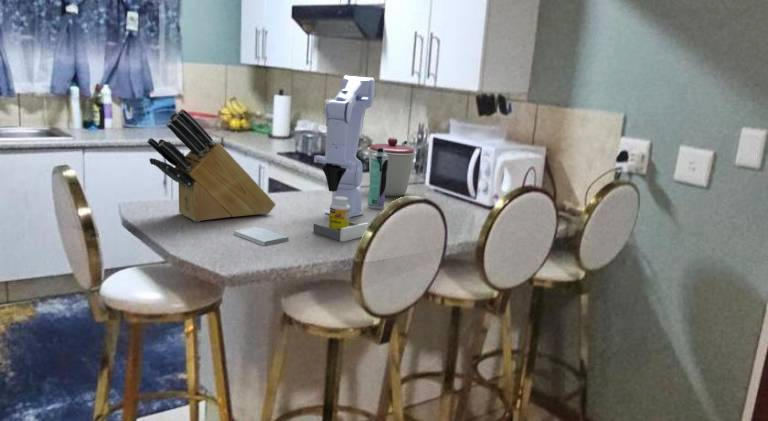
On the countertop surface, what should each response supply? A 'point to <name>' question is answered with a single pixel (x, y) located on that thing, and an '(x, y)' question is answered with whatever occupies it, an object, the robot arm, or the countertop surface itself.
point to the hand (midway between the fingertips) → (332, 191)
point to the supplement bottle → (339, 213)
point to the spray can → (378, 179)
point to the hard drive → (260, 236)
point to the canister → (395, 166)
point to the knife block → (208, 175)
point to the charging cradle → (342, 231)
